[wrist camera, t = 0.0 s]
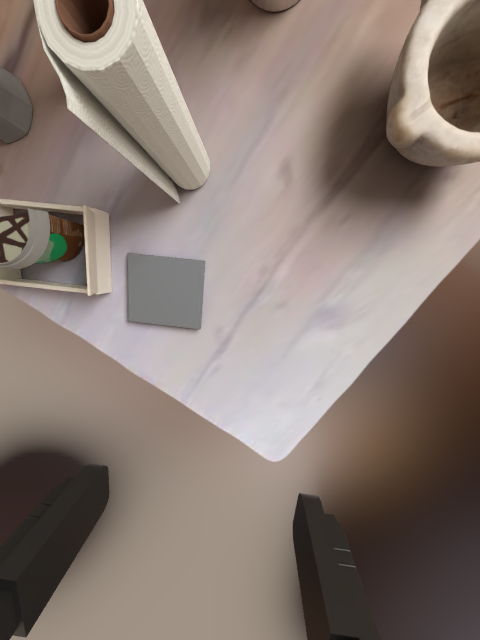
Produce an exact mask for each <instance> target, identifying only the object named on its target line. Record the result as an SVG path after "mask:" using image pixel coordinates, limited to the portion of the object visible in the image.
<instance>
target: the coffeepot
mask: <svg viewBox="0 0 480 640" xmlns="http://www.w3.org/2000/svg"><path fill="white" fill-rule="evenodd" d="M32 108H33V106H32V103H31V100H30V98H29V95H28V93H27V91H26V90H25V88H24V87H23V85H22V83H21V81H20V79H19V78H18V77H16V76H15V75H13V74H11V73H10V72H8V71H6V70H5V69H3V68H1V67H0V140H1V141H3V142H5V143H7V144H8V143H12V142H15V141H17V140H20V139H21V138H23V137H24V136H25V135H26V134H27V133H28V131H29V129H30V127H31V123H32V117H33V111H32Z"/></svg>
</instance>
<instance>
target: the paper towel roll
mask: <svg viewBox="0 0 480 640" xmlns="http://www.w3.org/2000/svg"><path fill="white" fill-rule="evenodd" d="M34 6H35V12H36V17H37V23H38V27H39V31H40V35H41V39H42V44H43V48H44V51H45V52H46V54H47V56H48V58H49V60H50V61H51V63H52V65H53V67H54V68H55V70H56V72H57V74H58V76H59V77H60V80H61V83H62V86H63V89H64V92H65V95H66V100H67V109H68V110H69V111H70V112H72V113H73V114H74V115H75V116H76V117H77V118H79V119H80V120H81V121H82V122H83V123H84V124H86V125H87V126H88V127H89V128H90V129H92V130H93V131H94V132H95V133H96V134H97V135H99V136H100V137H101V138H102V139H103V140H105V141H106V142H107V143H108V144H109V145H110V146H112V147H113V148H114V149H115V150H116V151H118V152H119V153H120V154H121V155H122V156H123V157H125V158H126V159H127V160H128V161H129V162H131V163H132V164H133V165H134V166H135V167H136V168H138V169H139V170H140V171H141V172H142V173H144V174H145V175H146V176H147V177H148V178H149V179H151V180H152V181H153V182H154V183H155V184H157V185H158V186H159V187H160V188H161V189H162V190H164V191H165V192H166V193H167V194H168V195H169V196H171V197H172V198H173V199H174V200H175V201H177V202H178V203H179V204H180V200H179V195H178V192H177V190H176V188H175V186H174V184H173V182H172V180H173V181H174V182H175V183H176V184H177V185H178V186H179V187H182V188H184V189H186V190H187V189H196V188H198V187H201V186H202V185H203V184H204V183H205V181H206V180H207V178H208V175H209V172H210V161H209V158H208V156H207V153H206V151H205V148H204V146H203V144H202V141H201V139H200V136H199V134H198V132H197V129H196V127H195V124H194V122H193V120H192V117H191V115H190V112H189V110H188V108H187V105H186V103H185V100H184V98H183V96H182V93H181V91H180V89H179V86H178V84H177V81H176V79H175V77H174V74H173V72H172V69H171V67H170V65H169V62H168V60H167V57H166V55H165V53H164V50H163V48H162V45H161V43H160V41H159V38H158V36H157V33H156V31H155V29H154V26H153V24H152V21H151V19H150V17H149V14H148V12H147V9H146V7H145V5H144V2H143V0H34Z"/></svg>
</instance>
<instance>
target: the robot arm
mask: <svg viewBox="0 0 480 640" xmlns="http://www.w3.org/2000/svg"><path fill="white" fill-rule="evenodd" d="M251 1H252V2H253V3H254V4H255V5H257V6H258V7H260V8H262V9H264V10H267V11H272V12H274V11H282V10H285V9H288V8H289V7H291V6H293V5H294V4H296V3H297V2H298V1H299V0H251ZM108 499H109V476H108V467H107V466H104V465H97V464H87V465H86V466H84V467H83V469H82V470H81V471H80V472H79V473H78V474H77V476H76V477H75V478H73V477H68V478H67V479H66V480H64V481H63V482H61V483H60V484H59V485H58V486H56V487H54V488H53V489H52V490H51V491H50V492H49V494H48V495H47V496H46V497H45V498H44V499H43V500H42V501H41V502H40V505H39V506H37V507H36V508H35V509H34V510H33V511H32V512H31V513H30V515H29V516H28V518H27V519H25V520H24V521H23V522H22V524H20V526H19V527H18V528H17V529H16V530H15V531H14V532H13V533H12V535H10V537H9V538H8V539H7V540H6V541H5V542H4V543H3V545H1V546H0V640H9V639H10V638H11V637H12V635H15V636H21V637H27V635H28V633H29V632H30V630H31V629H32V627H33V625H34V624H35V622H36V621H37V619H38V617H39V616H40V614H41V613H42V611H43V609H44V608H45V606H46V604H47V603H48V601H49V600H50V598H51V596H52V595H53V593H54V591H55V590H56V588H57V586H58V585H59V583H60V582H61V580H62V578H63V577H64V575H65V574H66V572H67V570H68V569H69V567H70V565H71V564H72V562H73V561H74V559H75V557H76V556H77V554H78V552H79V551H80V549H81V547H82V546H83V544H84V543H85V541H86V539H87V538H88V536H89V534H90V533H91V531H92V530H93V528H94V526H95V525H96V523H97V521H98V520H99V518H100V517H101V515H102V513H103V512H104V509H105V507H106V505H107V502H108ZM293 542H294V549H295V556H296V563H297V570H298V577H299V583H300V590H301V598H302V605H303V612H304V619H305V625H306V632H307V639H308V640H381V638H380V635H379V633H378V630H377V627H376V624H375V621H374V618H373V615H372V612H371V609H370V606H369V603H368V600H367V597H366V594H365V591H364V588H363V586H362V583H361V580H360V577H359V574H358V571H357V569H356V567H355V562H354V559H353V556H352V553H351V552H350V548H349V544H348V542H347V539H346V536H345V533H344V530H343V529H342V527H341V526H340V524H339V523H338V521H337V520H336V518H335V517H334V515H330V514H324V511H323V507H322V504H321V500H320V498H319V497H318V496H315V495H308V494H301V493H300V494H299V495H298V500H297V505H296V510H295V515H294V520H293Z"/></svg>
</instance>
